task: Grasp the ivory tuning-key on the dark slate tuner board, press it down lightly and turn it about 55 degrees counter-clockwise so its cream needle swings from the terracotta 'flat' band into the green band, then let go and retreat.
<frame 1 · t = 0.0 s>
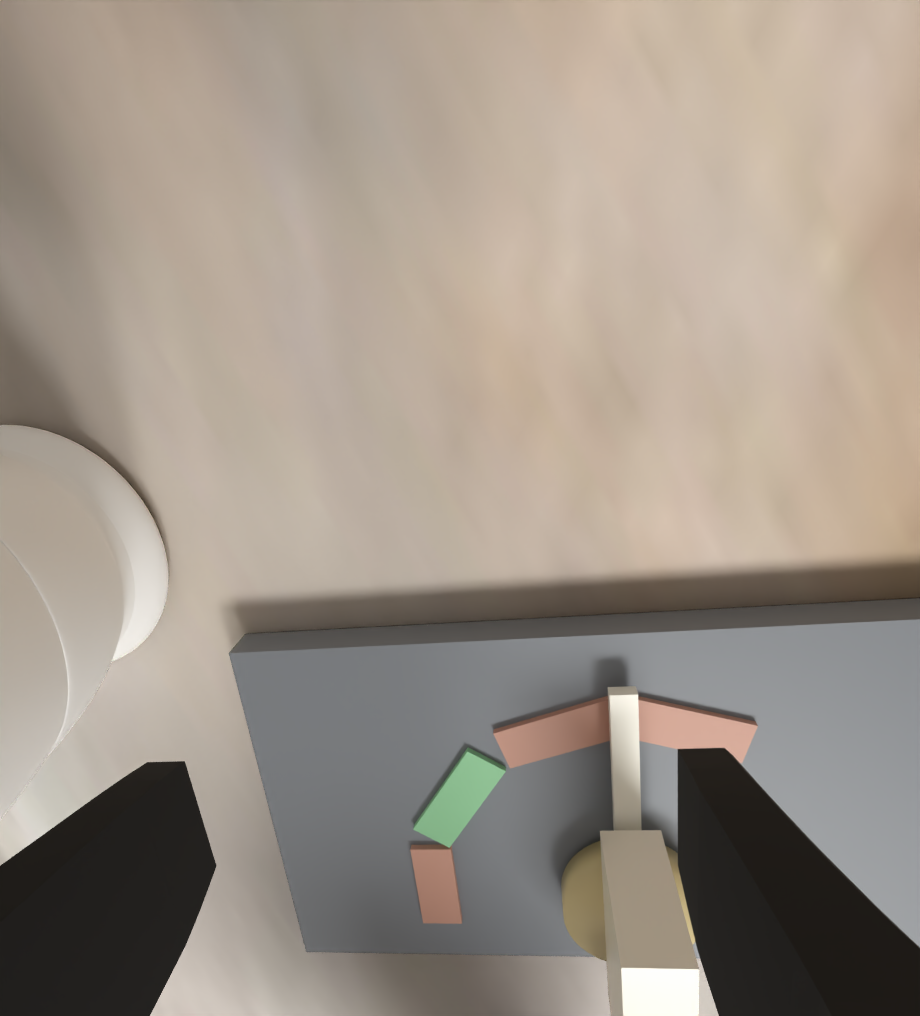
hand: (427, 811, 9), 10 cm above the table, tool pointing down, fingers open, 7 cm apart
jar: (55, 546, 20), on the table
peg: (640, 908, 17), point 4 cm above the table, hinge at 0.0°
tuner board: (618, 784, 20), on the table
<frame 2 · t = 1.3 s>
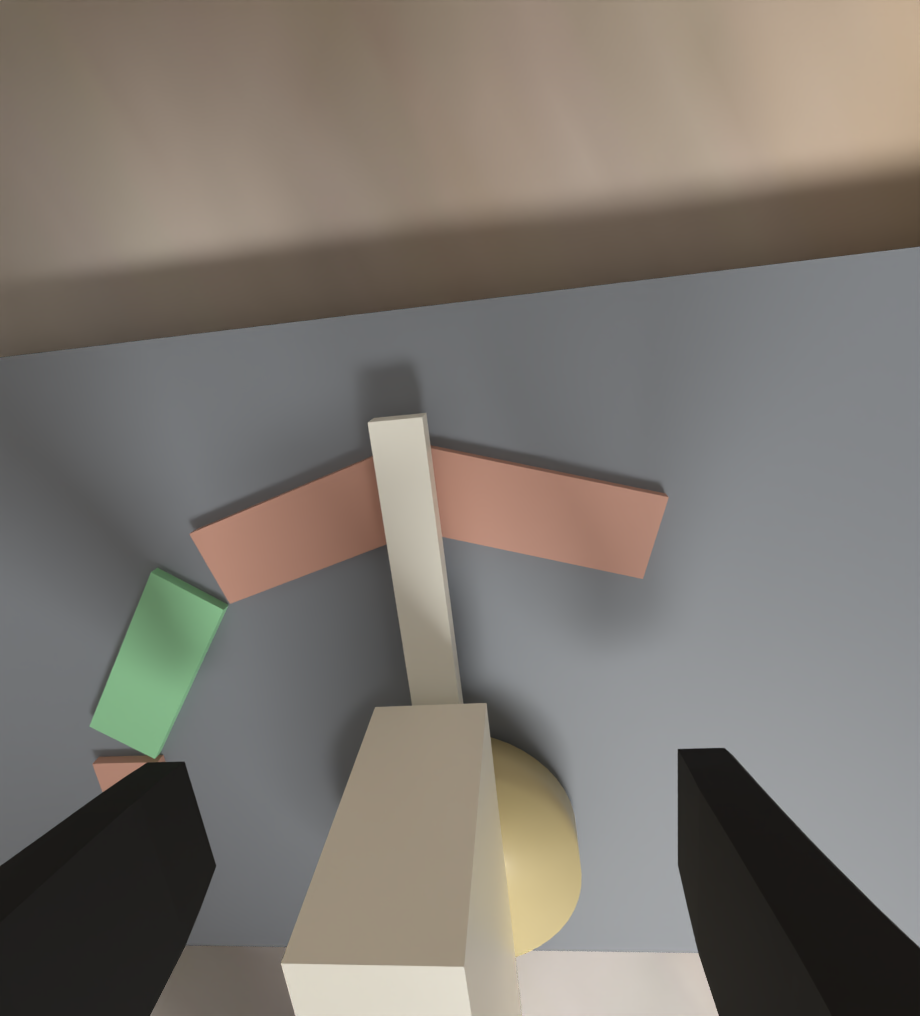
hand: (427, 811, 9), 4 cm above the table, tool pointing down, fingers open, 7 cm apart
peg: (426, 846, 8), point 4 cm above the table, hinge at 0.0°
tuner board: (450, 651, 12), on the table
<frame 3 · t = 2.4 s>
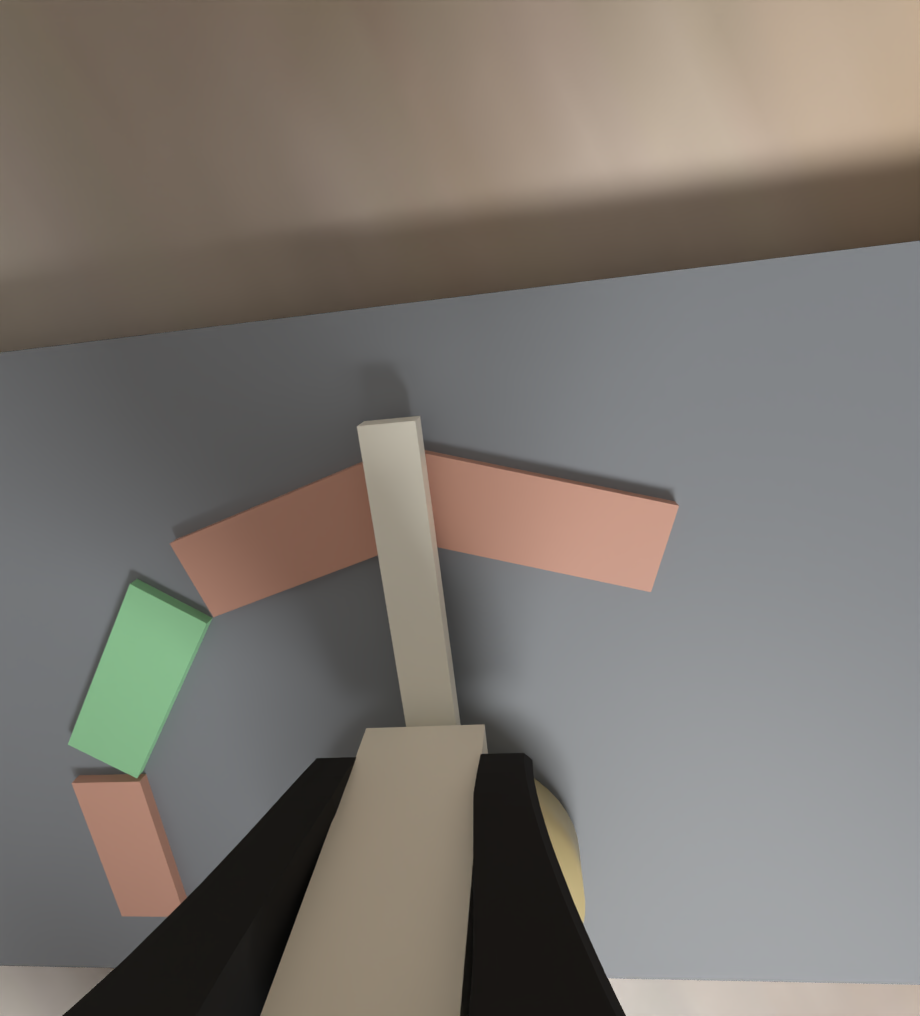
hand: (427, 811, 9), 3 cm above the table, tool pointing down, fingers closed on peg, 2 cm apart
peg: (419, 880, 8), point 4 cm above the table, hinge at 0.0°, touching gripper
tuner board: (447, 665, 11), on the table
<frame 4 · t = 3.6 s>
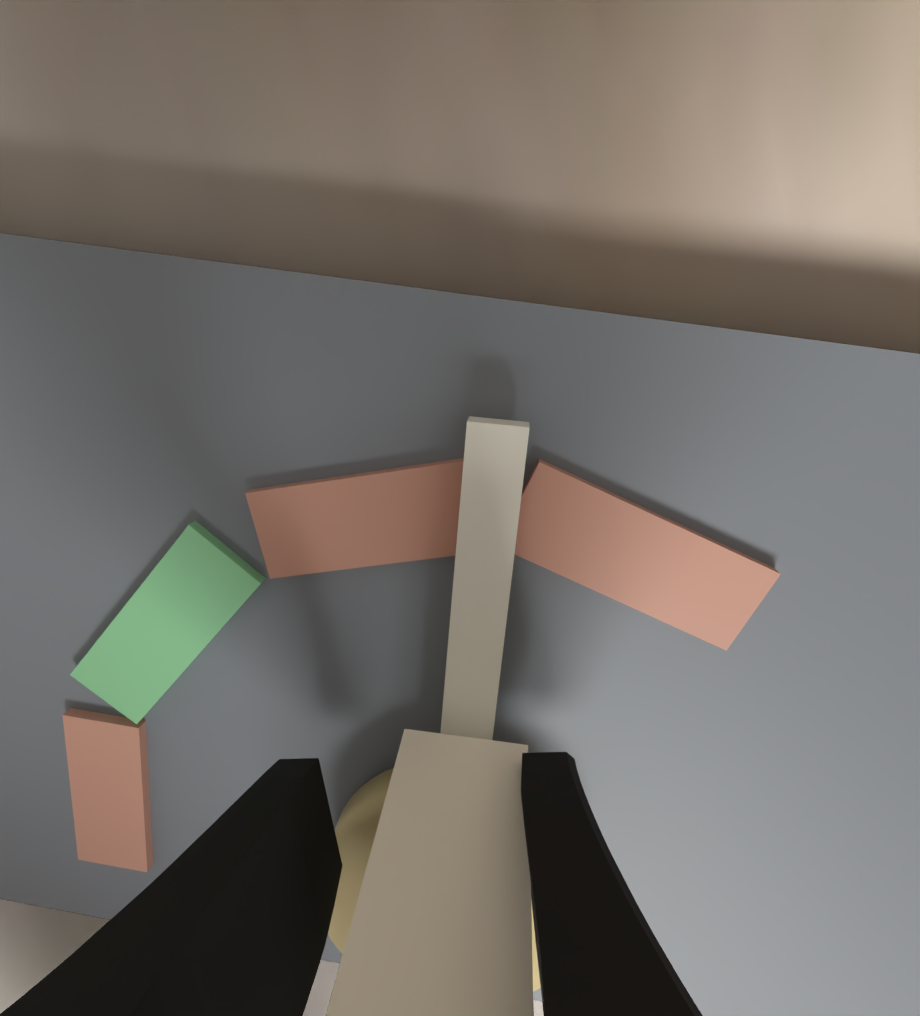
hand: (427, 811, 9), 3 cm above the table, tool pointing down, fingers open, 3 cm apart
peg: (447, 896, 8), point 4 cm above the table, hinge at 2.5°, touching gripper
tuner board: (481, 672, 11), on the table
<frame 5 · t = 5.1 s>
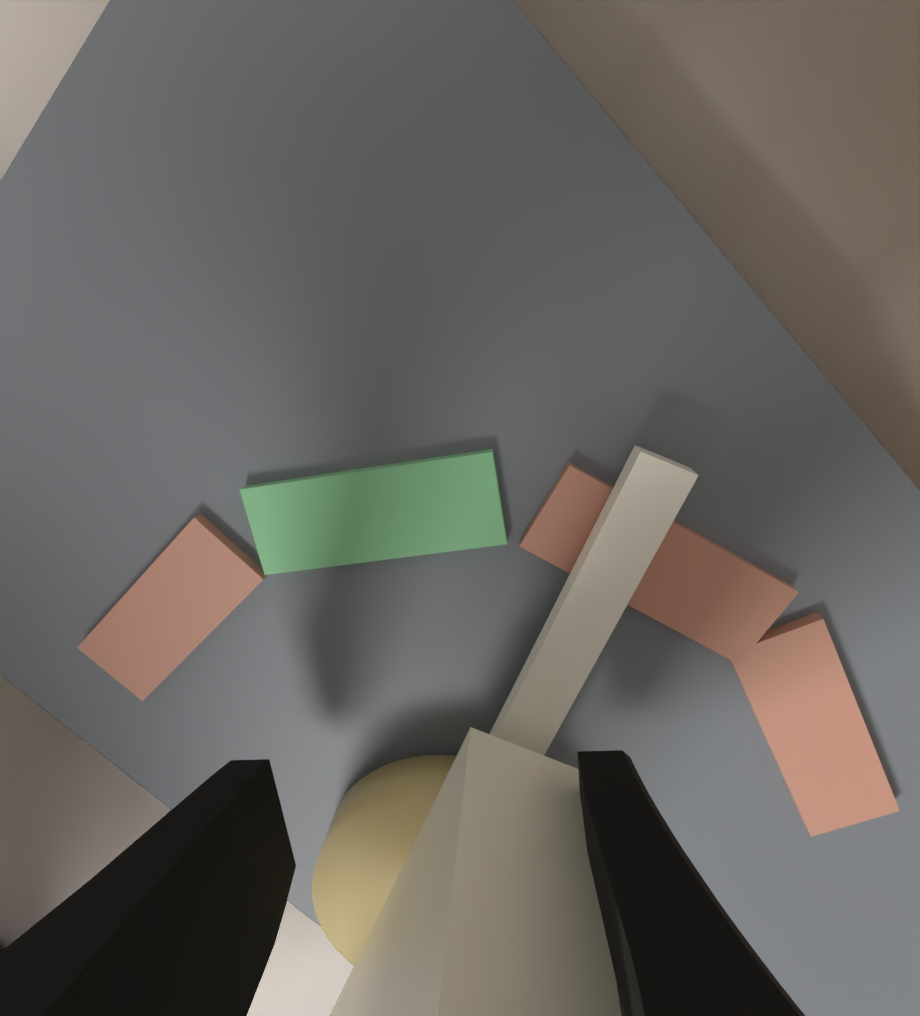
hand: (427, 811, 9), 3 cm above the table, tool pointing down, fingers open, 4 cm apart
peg: (491, 903, 8), point 4 cm above the table, hinge at 23.8°, touching gripper
tuner board: (569, 713, 11), on the table
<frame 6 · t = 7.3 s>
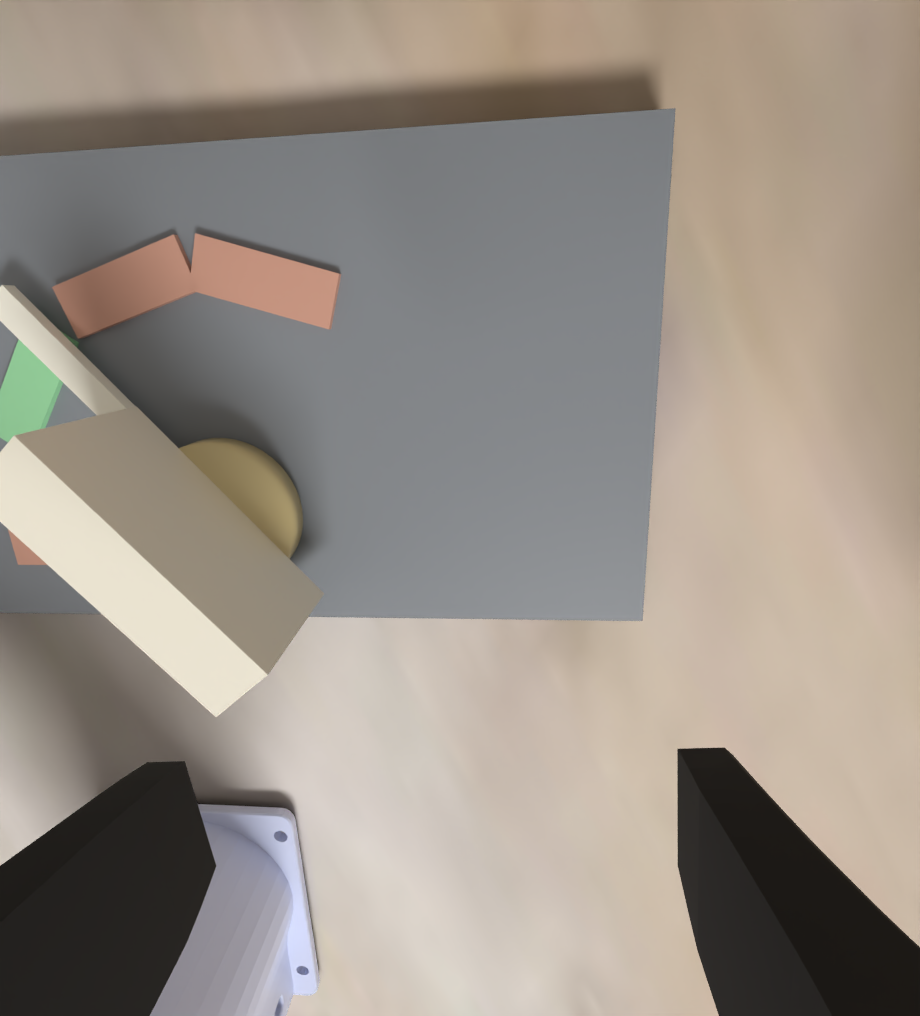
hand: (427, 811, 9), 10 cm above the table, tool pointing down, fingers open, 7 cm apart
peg: (116, 477, 15), point 4 cm above the table, hinge at 39.8°
tuner board: (235, 402, 18), on the table
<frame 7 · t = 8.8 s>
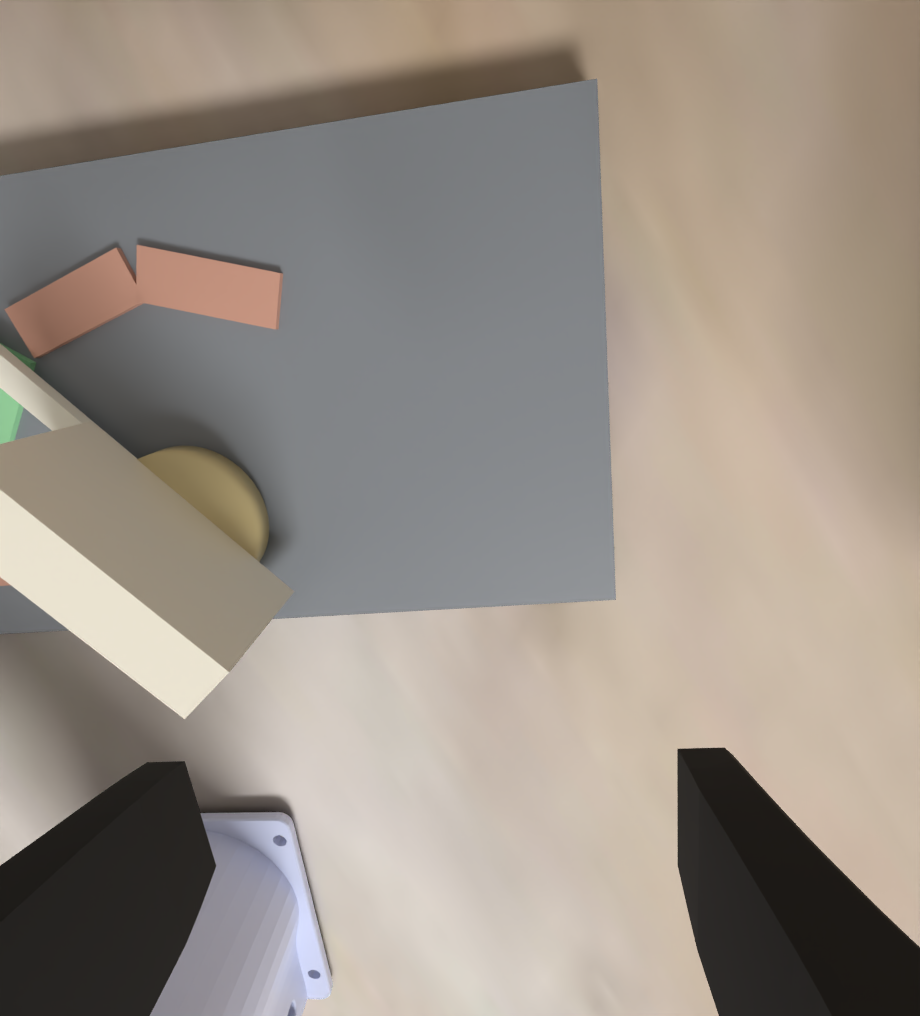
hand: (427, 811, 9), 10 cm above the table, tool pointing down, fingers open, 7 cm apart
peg: (73, 491, 15), point 4 cm above the table, hinge at 40.8°
tuner board: (196, 410, 18), on the table
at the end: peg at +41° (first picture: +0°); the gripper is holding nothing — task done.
